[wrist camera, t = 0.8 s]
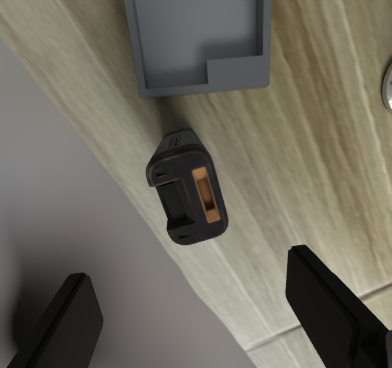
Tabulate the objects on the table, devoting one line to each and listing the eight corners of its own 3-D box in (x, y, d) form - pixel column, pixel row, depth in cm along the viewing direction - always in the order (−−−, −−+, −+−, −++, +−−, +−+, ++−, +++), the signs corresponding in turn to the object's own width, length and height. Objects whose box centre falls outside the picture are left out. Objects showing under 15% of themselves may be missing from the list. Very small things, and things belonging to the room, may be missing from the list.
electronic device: (160, 135, 36) (138, 162, 17) (193, 125, 36) (207, 141, 17) (177, 184, 39) (174, 252, 20) (207, 175, 39) (233, 234, 20)
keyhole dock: (261, -65, 28) (273, -92, 25) (259, 88, 35) (269, 85, 31) (119, -56, 28) (110, -82, 24) (144, 99, 34) (140, 97, 30)
